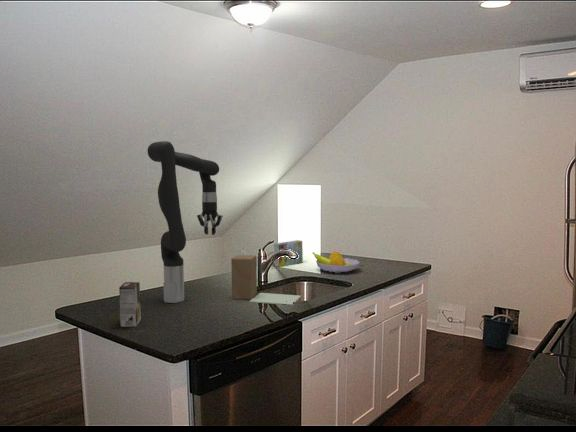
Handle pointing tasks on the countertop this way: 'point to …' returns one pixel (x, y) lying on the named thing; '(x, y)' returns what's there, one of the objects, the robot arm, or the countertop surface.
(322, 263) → the fruit bowl
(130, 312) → the coffee box
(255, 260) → the wooden block
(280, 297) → the felt mat
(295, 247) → the snack box
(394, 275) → the countertop surface
